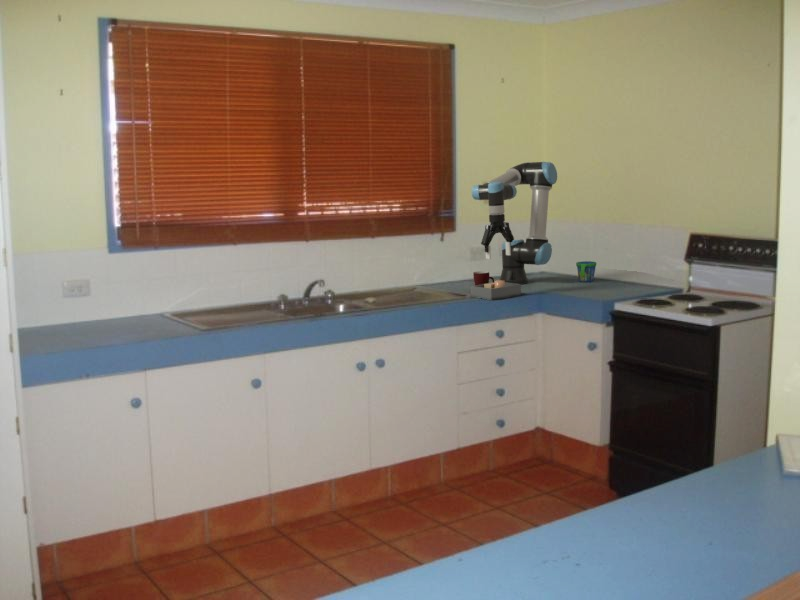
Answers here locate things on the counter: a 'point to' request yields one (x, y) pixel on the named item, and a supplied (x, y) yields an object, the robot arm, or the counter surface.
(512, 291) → the tote
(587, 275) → the snack cup
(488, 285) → the wood cube
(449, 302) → the counter surface
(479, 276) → the mug
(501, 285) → the terracotta cylinder
